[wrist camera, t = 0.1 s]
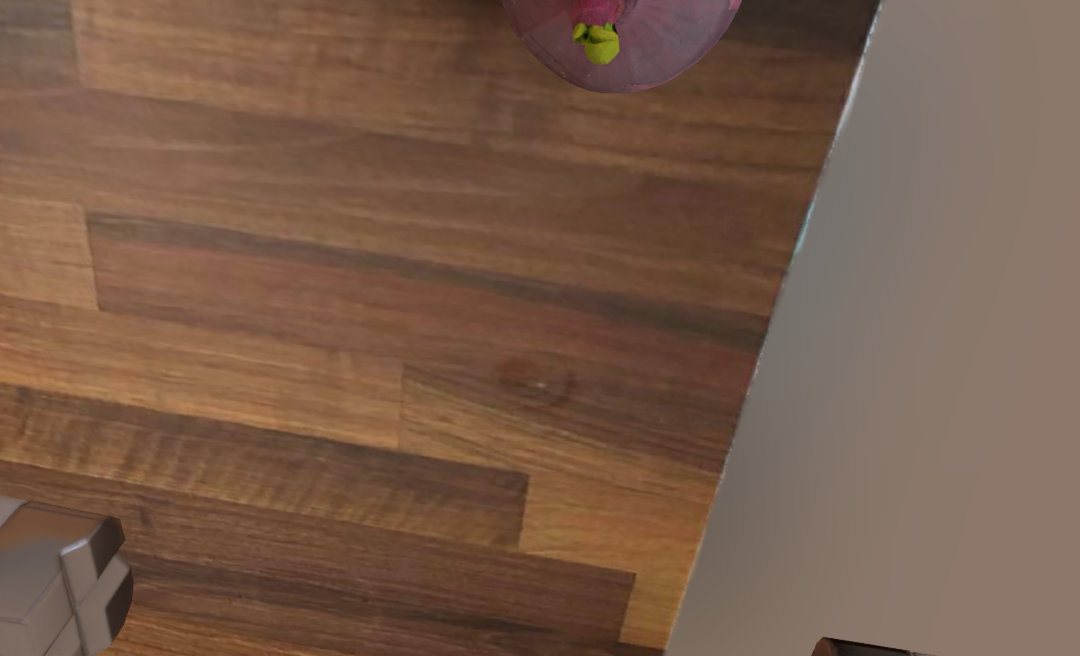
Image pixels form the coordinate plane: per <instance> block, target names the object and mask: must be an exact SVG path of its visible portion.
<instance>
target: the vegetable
mask: <svg viewBox="0 0 1080 656" xmlns="http://www.w3.org/2000/svg"><path fill="white" fill-rule="evenodd" d="M501 1H502V4H503V7H504V9H505V12H506V15H507V17H508V19H509V22H510V24H511V26H512V27H513V29H514V31H515V33H516V34H517V36H518V38H519V39H520V41H521V42H522V43H523V45H524V46H525V47H526V48H527V50H529V51H530V52H531V53H532V54H533V55H534V56H535V57H536V58H537V59H538V60H539V61H540V62H541V63H542V64H544V65H545V66H546V67H547V68H548V69H550V70H551V71H553V72H554V73H555V74H557V75H558V76H560V77H561V78H563V79H565V80H566V81H568V82H570V83H571V84H574V85H576V86H578V87H581V88H584V89H587V90H590V91H595V92H600V93H629V92H638V91H643V90H646V89H650V88H653V87H656V86H660V85H662V84H664V83H666V82H668V81H670V80H672V79H674V78H675V77H677V76H678V75H680V74H681V73H683V72H684V71H686V70H687V69H688V68H690V67H691V66H693V65H694V64H695V63H697V62H698V61H701V58H702V57H703V56H704V55H705V54H706V53H707V52H708V51H709V50H710V49H711V48H712V47H713V46H714V45H715V44H716V43H717V42H718V41H719V40H720V38H721V37H722V36H723V35H724V33H725V32H726V30H727V29H728V27H729V25H730V24H731V22H732V20H733V18H734V16H735V14H736V12H737V11H738V9H739V6H740V4H741V2H742V0H501Z"/></svg>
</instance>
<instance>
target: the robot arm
mask: <svg viewBox="0 0 1080 656" xmlns="http://www.w3.org/2000/svg"><path fill="white" fill-rule="evenodd" d="M124 541H125V537H124V533H123V529H122V525H121V521H120V519H118V518H114V517H111V516H106V515H101V514H96V513H91V512H86V511H81V510H76V509H71V508H66V507H61V506H56V505H51V504H46V503H41V502H36V501H29V500H24V499H19V498H13V497H8V496H3V495H0V656H95V655H96V654H98V653H100V652H101V651H103V650H105V649H106V648H108V647H110V646H111V645H112V643H113V642H114V640H115V639H116V637H117V635H118V634H119V632H120V630H121V629H122V627H123V625H124V623H125V620H126V617H127V614H128V611H129V608H130V605H131V602H132V596H133V576H132V570H131V566H130V565H129V564H128V563H127V562H126V561H125V560H124V559H123V558H122V557H121V556H120V555H119V554H118V553H117V551H118V549H119V548H120V547H121V545H122V544H123V542H124ZM812 656H935V655H928V654H922V653H917V652H913V653H912V652H910V651H909V650H903V649H896V648H890V647H884V646H877V645H871V644H864V643H858V642H852V641H846V640H839V639H833V638H826V637H823V638H821V639H820V641H819V642H817V644H816V646H815V649H814V651H813V653H812Z"/></svg>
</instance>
